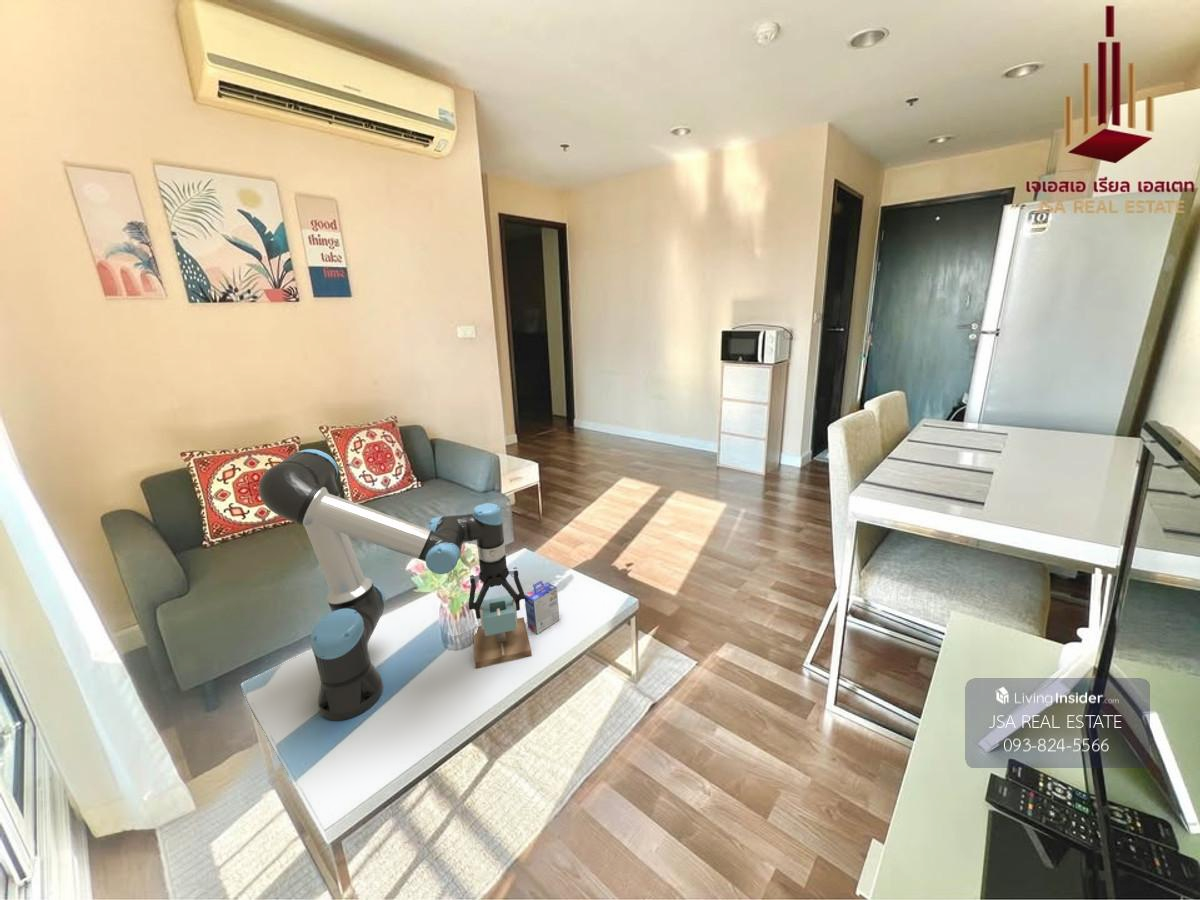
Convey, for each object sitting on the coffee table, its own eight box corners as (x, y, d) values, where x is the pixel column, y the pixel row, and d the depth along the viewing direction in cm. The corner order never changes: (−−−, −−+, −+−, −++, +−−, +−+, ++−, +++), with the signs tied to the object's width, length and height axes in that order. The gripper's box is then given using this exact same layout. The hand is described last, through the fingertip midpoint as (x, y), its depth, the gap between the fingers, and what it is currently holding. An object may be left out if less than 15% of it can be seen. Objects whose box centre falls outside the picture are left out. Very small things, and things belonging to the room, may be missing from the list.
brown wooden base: (475, 668, 132) (472, 645, 129) (473, 632, 146) (470, 611, 144) (531, 655, 136) (529, 632, 134) (524, 622, 151) (522, 601, 149)
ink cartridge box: (549, 612, 155) (546, 574, 151) (560, 619, 152) (558, 581, 148) (526, 627, 149) (522, 588, 144) (537, 634, 145) (533, 594, 141)
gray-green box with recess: (485, 636, 134) (483, 617, 132) (483, 617, 142) (481, 599, 140) (516, 630, 136) (514, 611, 134) (512, 611, 144) (511, 593, 143)
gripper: (452, 569, 126) (462, 638, 133) (531, 556, 132) (537, 622, 139) (452, 556, 133) (461, 622, 140) (528, 544, 139) (533, 608, 146)
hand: (499, 622), depth 139 cm, fingers closed on gray-green box with recess, 9 cm apart
